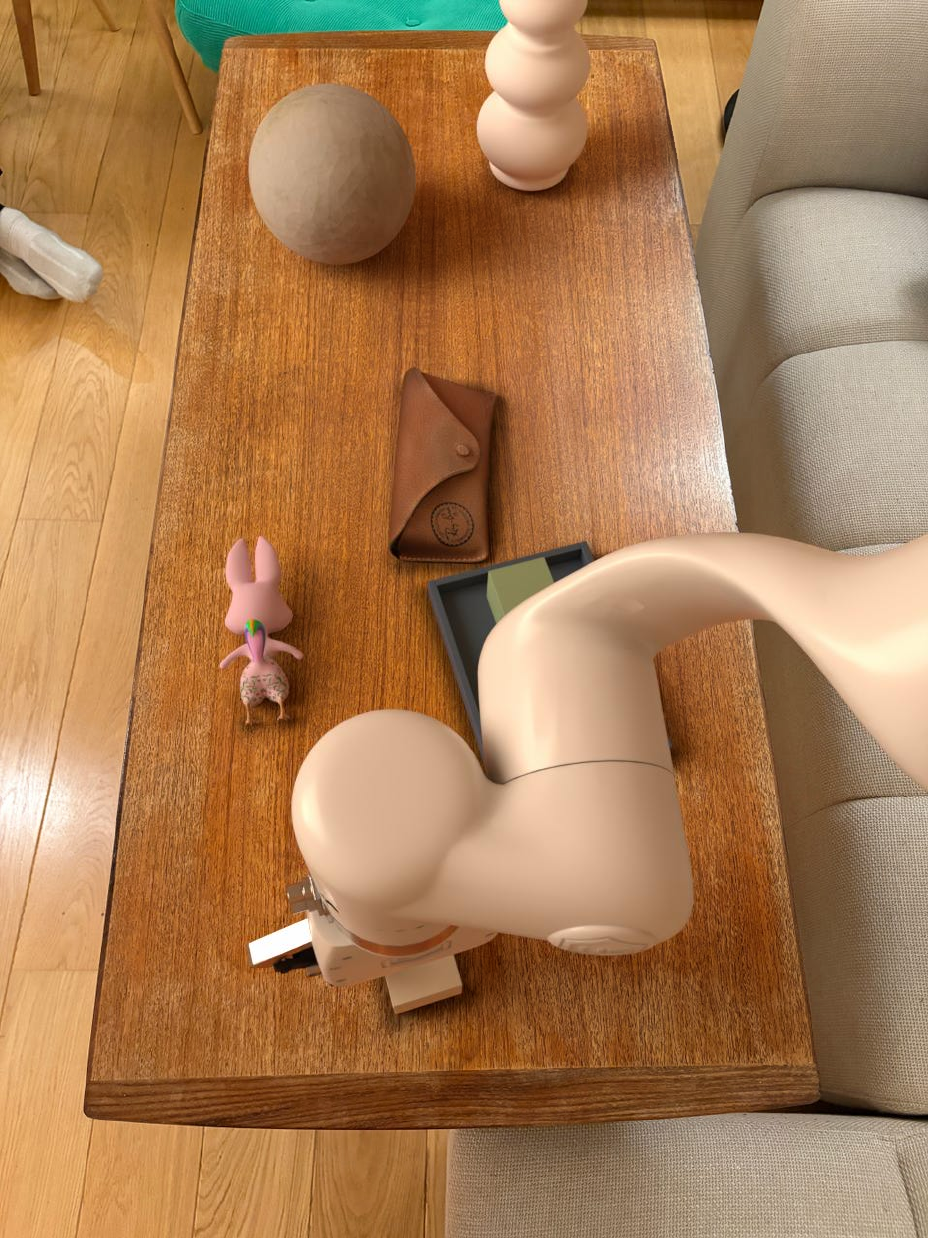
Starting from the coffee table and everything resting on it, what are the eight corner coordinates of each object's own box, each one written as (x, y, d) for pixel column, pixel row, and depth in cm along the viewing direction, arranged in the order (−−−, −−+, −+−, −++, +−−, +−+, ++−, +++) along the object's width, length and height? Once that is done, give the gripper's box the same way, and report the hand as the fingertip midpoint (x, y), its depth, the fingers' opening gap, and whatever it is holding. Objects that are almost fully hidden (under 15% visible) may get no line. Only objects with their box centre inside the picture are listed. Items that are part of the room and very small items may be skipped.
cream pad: (432, 890, 70) (431, 877, 66) (461, 993, 66) (462, 985, 63) (369, 909, 69) (364, 897, 65) (395, 1014, 66) (393, 1007, 62)
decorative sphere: (267, 190, 101) (239, 46, 88) (416, 187, 102) (411, 44, 88) (259, 300, 94) (228, 162, 81) (419, 297, 95) (414, 160, 82)
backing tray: (583, 553, 82) (586, 540, 80) (667, 756, 74) (673, 747, 73) (428, 593, 80) (427, 581, 79) (497, 806, 72) (498, 797, 71)
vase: (594, 196, 102) (636, -68, 79) (489, 212, 100) (502, -51, 78) (565, 126, 106) (596, -141, 84) (464, 140, 105) (469, -127, 83)
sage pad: (540, 582, 80) (544, 556, 77) (569, 658, 77) (575, 635, 74) (486, 596, 80) (488, 570, 76) (513, 673, 77) (517, 650, 73)
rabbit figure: (312, 721, 77) (293, 540, 81) (303, 703, 71) (284, 509, 75) (229, 733, 76) (215, 550, 81) (214, 715, 70) (199, 520, 75)
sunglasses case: (495, 561, 81) (453, 521, 76) (421, 581, 84) (376, 543, 79) (498, 387, 89) (460, 340, 84) (430, 411, 93) (390, 367, 87)
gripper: (231, 1008, 45) (282, 1042, 60) (597, 895, 47) (557, 955, 62) (201, 846, 48) (256, 918, 63) (545, 749, 51) (519, 840, 66)
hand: (406, 936), depth 63 cm, fingers open, 9 cm apart
